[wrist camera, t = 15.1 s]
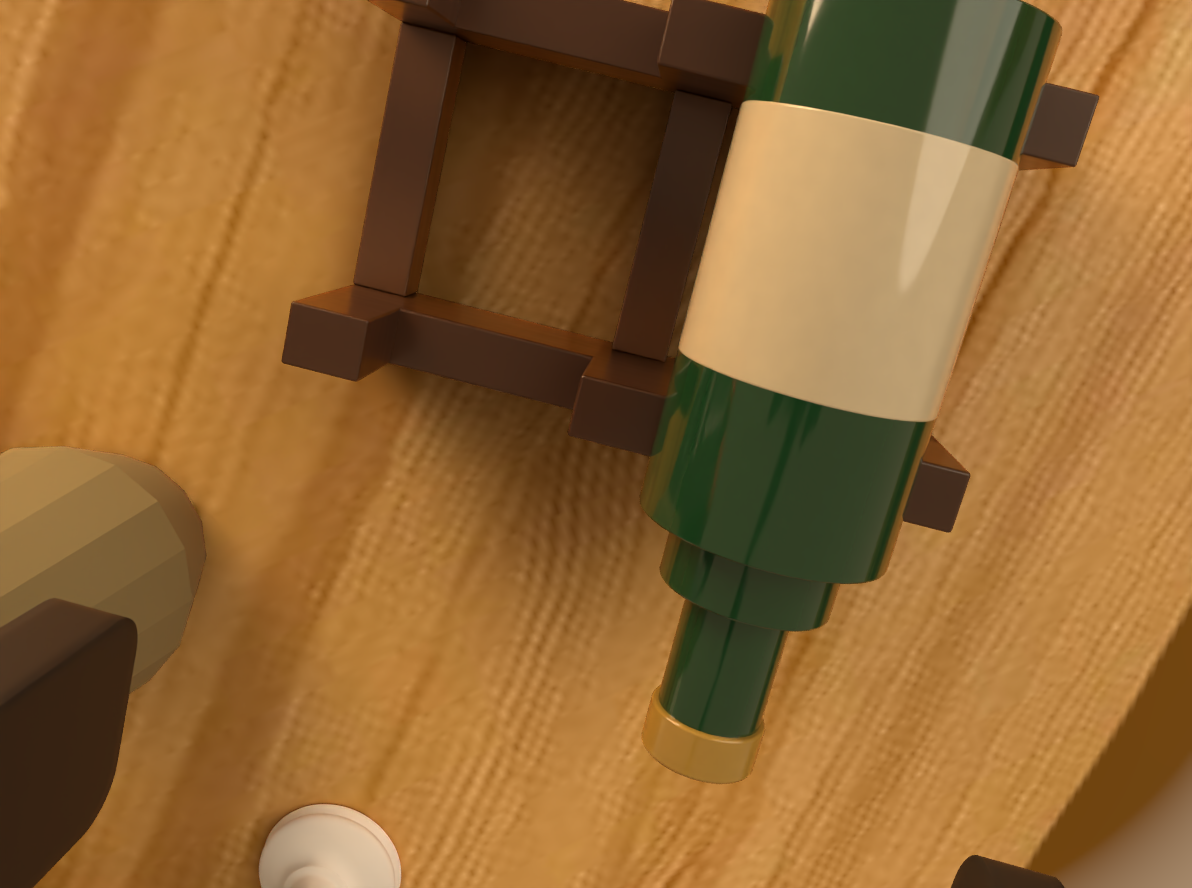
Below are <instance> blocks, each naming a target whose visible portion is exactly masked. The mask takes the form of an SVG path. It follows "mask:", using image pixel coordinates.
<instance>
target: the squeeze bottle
mask: <svg viewBox="0 0 1192 888" xmlns="http://www.w3.org/2000/svg"><path fill="white" fill-rule="evenodd" d="M205 559H206V549H205V542H204V535H203V528H202V522H201V520H200V518H199V516H198V514H197V513H196V511H195V509H194V507H193V505H192V504H191V502H190V500H189V498H188V497H187V495H186V493H185V491H184V490H183V489H182V488H180V487H179V486H178V485H177V484H176V483H175V482H173V481H172V480H171V479H170V478H169V477H168V476H166V475H165V474H164V473H163V472H162V471H161V470H159V469H158V468H157V467H155V466H152V465H150V464H147V463H144V462H141V461H139V460H136V459H133V458H131V457H128V456H125V455H122V454H115V453H108V452H101V451H94V450H87V449H80V448H73V447H66V446H55V447H25V448H11V449H9V450H7V451H5V452H3V453H1V454H0V628H1V627H2V626H4V625H6V624H7V623H9V622H10V621H12V620H14V619H15V618H17V617H19V616H20V615H22V614H24V613H25V612H27V611H29V610H30V609H32V608H34V607H35V606H37V605H39V604H40V603H42V602H44V601H46V600H48V599H51V598H58V599H62V600H66V601H69V602H73V603H76V604H80V605H84V606H87V607H91V608H94V609H98V610H102V611H105V612H109V613H112V614H116V615H120V616H123V617H127V618H130V619H132V620H133V621H134V622H135V624H136V627H137V633H138V643H137V651H136V657H135V663H134V668H133V674H132V680H131V686H130V692H129V694H130V693H132V692H133V691H135V690H136V689H138V688H139V687H141V686H142V685H144V684H145V683H147V682H148V681H149V680H150V679H151V678H152V677H153V676H154V675H155V673H156V672H157V671H158V670H159V669H160V668H161V667H162V665H163V664H164V663H165V662H166V661H167V660H168V658H169V657H170V656H171V655H172V654H173V653H174V652H175V650H176V649H177V648H178V647H179V646H180V642H181V639H182V636H183V633H184V630H185V626H186V623H187V620H188V617H189V613H190V610H191V607H192V604H193V600H194V597H195V594H196V591H197V587H198V584H199V580H200V577H201V573H202V570H203V566H204V562H205Z"/></svg>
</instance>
